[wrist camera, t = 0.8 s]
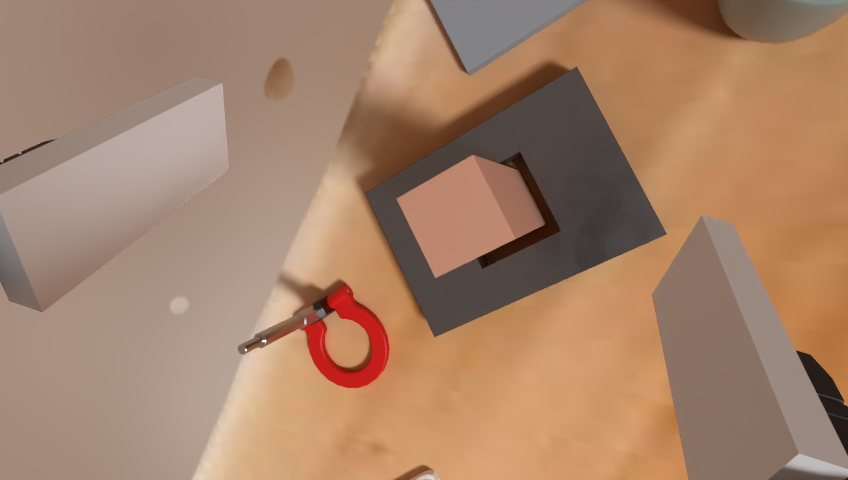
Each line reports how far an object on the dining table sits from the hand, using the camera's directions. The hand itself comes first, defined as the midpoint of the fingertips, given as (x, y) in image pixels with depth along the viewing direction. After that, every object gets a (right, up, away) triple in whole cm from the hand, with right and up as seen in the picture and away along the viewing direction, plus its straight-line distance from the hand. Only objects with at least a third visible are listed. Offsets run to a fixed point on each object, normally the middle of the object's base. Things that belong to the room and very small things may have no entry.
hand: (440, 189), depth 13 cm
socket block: (+7, +1, +28) cm, 29 cm away
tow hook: (-8, -11, +35) cm, 37 cm away
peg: (+7, +1, +28) cm, 29 cm away
